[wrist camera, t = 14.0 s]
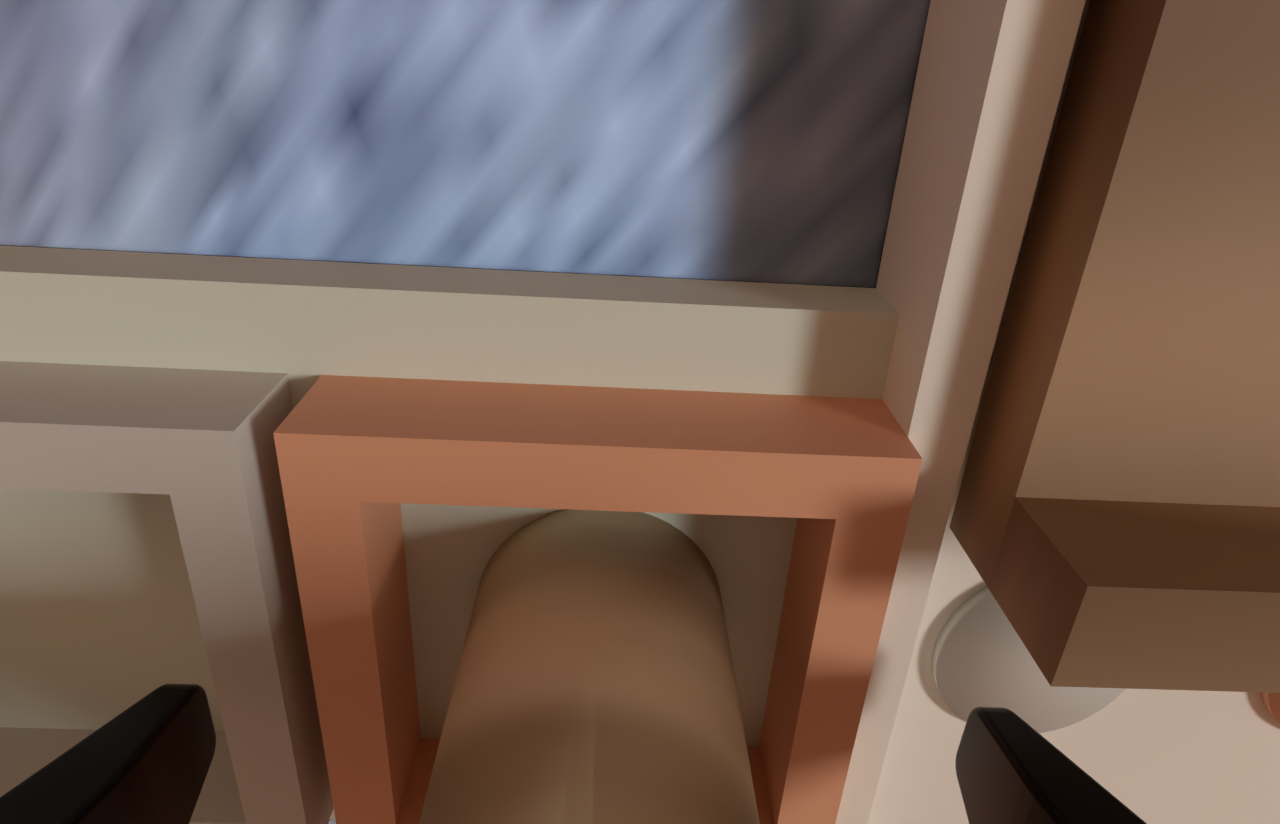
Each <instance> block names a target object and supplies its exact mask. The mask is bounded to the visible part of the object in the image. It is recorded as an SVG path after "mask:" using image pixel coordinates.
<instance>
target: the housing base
mask: <svg viewBox="0 0 1280 824" xmlns="http://www.w3.org/2000/svg"><path fill="white" fill-rule="evenodd" d="M1089 3H1090V0H931V1H930V6H929V12H928V17H927V22H926V27H925V33H924V38H923V43H922V48H921V54H920V59H919V64H918V69H917V75H916V80H915V85H914V90H913V96H912V101H911V106H910V111H909V117H908V122H907V127H906V132H905V138H904V143H903V148H902V153H901V159H900V164H899V169H898V175H897V180H896V185H895V190H894V196H893V201H892V206H891V211H890V217H889V222H888V227H887V232H886V238H885V243H884V248H883V253H882V259H881V264H880V269H879V274H878V280H877V285H876V289H877V290H878V291H879V292H880V293H881V294H882V295H883V297H884V298H885V299H886V300H887V301H888V302H889V303H890V304H891V305H892V306H893V307H894V308H895V310H896V311H897V312H898V313H899V314H900V315H899V320H898V325H897V330H896V335H895V340H894V344H893V349H892V354H891V359H890V364H889V369H888V373H887V378H886V383H885V388H884V393H883V398H882V399H883V401H884V402H885V404H886V405H887V407H888V408H889V410H890V411H891V413H892V414H893V416H894V417H895V419H896V420H897V422H898V423H899V425H900V426H901V428H902V429H903V431H904V432H905V434H906V435H907V437H908V438H909V440H910V441H911V442H912V444H913V445H914V447H915V448H916V450H917V451H918V453H919V454H920V456H921V457H922V459H923V460H922V464H921V468H920V472H919V476H918V480H917V485H916V489H915V493H914V497H913V501H912V505H911V510H910V514H909V518H908V522H907V526H906V531H905V535H904V539H903V543H902V547H901V551H900V556H899V560H898V564H897V568H896V572H895V576H894V581H893V585H892V589H891V593H890V597H889V602H888V606H887V610H886V614H885V618H884V622H883V627H882V631H881V635H880V639H879V643H878V647H877V652H876V656H875V660H874V664H873V668H872V673H871V677H870V681H869V685H868V689H867V693H866V698H865V702H864V706H863V710H862V714H861V718H860V723H859V727H858V731H857V735H856V739H855V744H854V748H853V752H852V756H851V760H850V764H849V769H848V773H847V777H846V781H845V785H844V789H843V794H842V798H841V802H840V806H839V810H838V815H837V819H836V823H835V824H969V821H968V817H967V814H966V810H965V806H964V802H963V798H962V794H961V791H960V787H959V783H958V779H957V775H956V767H955V760H956V754H957V750H958V747H959V744H960V741H961V737H962V734H963V731H964V728H965V725H966V722H967V719H968V716H969V714H970V712H971V711H972V710H973V709H974V708H976V707H1000V708H1007V709H1009V710H1011V711H1013V712H1014V713H1015V714H1017V715H1018V716H1019V717H1020V718H1021V719H1023V720H1024V721H1025V722H1026V723H1027V724H1029V725H1030V726H1031V727H1032V728H1033V729H1035V730H1036V731H1037V732H1038V733H1039V734H1041V735H1042V736H1043V737H1044V738H1045V739H1047V740H1048V741H1049V742H1050V743H1051V744H1052V745H1054V746H1055V747H1056V748H1057V749H1058V750H1060V751H1061V752H1062V753H1063V754H1064V755H1066V756H1067V757H1068V758H1069V759H1070V760H1072V761H1073V762H1074V763H1075V764H1076V765H1078V766H1079V767H1080V768H1081V769H1082V770H1084V771H1085V772H1086V773H1087V774H1088V775H1090V776H1091V777H1092V778H1093V779H1094V780H1096V781H1097V782H1098V783H1099V784H1100V785H1101V786H1103V787H1104V788H1105V789H1106V790H1107V791H1109V792H1110V793H1111V794H1112V795H1113V796H1115V797H1116V798H1117V799H1118V800H1119V801H1121V802H1122V803H1123V804H1124V805H1125V806H1127V807H1128V808H1129V809H1130V810H1131V811H1133V812H1134V813H1135V814H1136V815H1137V816H1139V817H1140V818H1141V819H1142V820H1143V821H1145V822H1146V823H1147V824H1280V693H1266V692H1231V691H1196V690H1161V689H1126V688H1091V687H1056V686H1050V684H1049V683H1048V681H1047V680H1046V678H1045V677H1044V675H1043V673H1042V672H1041V670H1040V669H1039V667H1038V666H1037V664H1036V662H1035V661H1034V659H1033V658H1032V656H1031V655H1030V653H1029V651H1028V650H1027V648H1026V647H1025V645H1024V644H1023V642H1022V640H1021V639H1020V637H1019V636H1018V634H1017V633H1016V631H1015V629H1014V628H1013V626H1012V625H1011V623H1010V622H1009V620H1008V618H1007V617H1006V615H1005V614H1004V612H1003V611H1002V609H1001V607H1000V606H999V604H998V603H997V601H996V600H995V598H994V596H993V595H992V593H991V592H990V590H989V589H988V587H987V586H986V584H985V582H984V581H983V579H982V578H981V576H980V575H979V573H978V571H977V570H976V568H975V567H974V565H973V564H972V562H971V560H970V559H969V557H968V556H967V554H966V553H965V551H964V549H963V548H962V546H961V545H960V543H959V542H958V540H957V538H956V537H955V535H954V534H953V532H952V531H951V529H950V523H951V519H952V516H953V512H954V508H955V504H956V501H957V497H958V493H959V489H960V486H961V482H962V478H963V474H964V471H965V467H966V463H967V459H968V456H969V452H970V448H971V444H972V441H973V437H974V433H975V429H976V426H977V422H978V418H979V415H980V411H981V407H982V403H983V400H984V396H985V392H986V388H987V385H988V381H989V377H990V373H991V370H992V366H993V362H994V358H995V355H996V351H997V347H998V343H999V340H1000V336H1001V332H1002V329H1003V325H1004V321H1005V317H1006V314H1007V310H1008V306H1009V302H1010V299H1011V295H1012V291H1013V287H1014V284H1015V280H1016V276H1017V272H1018V269H1019V265H1020V261H1021V257H1022V254H1023V250H1024V246H1025V242H1026V239H1027V235H1028V231H1029V228H1030V224H1031V220H1032V216H1033V213H1034V209H1035V205H1036V201H1037V198H1038V194H1039V190H1040V186H1041V183H1042V179H1043V175H1044V171H1045V168H1046V164H1047V160H1048V156H1049V153H1050V149H1051V145H1052V142H1053V138H1054V134H1055V130H1056V127H1057V123H1058V119H1059V115H1060V112H1061V108H1062V104H1063V100H1064V97H1065V93H1066V89H1067V85H1068V82H1069V78H1070V74H1071V70H1072V67H1073V63H1074V59H1075V55H1076V52H1077V48H1078V44H1079V41H1080V37H1081V33H1082V29H1083V26H1084V22H1085V18H1086V14H1087V11H1088V7H1089Z"/></svg>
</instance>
